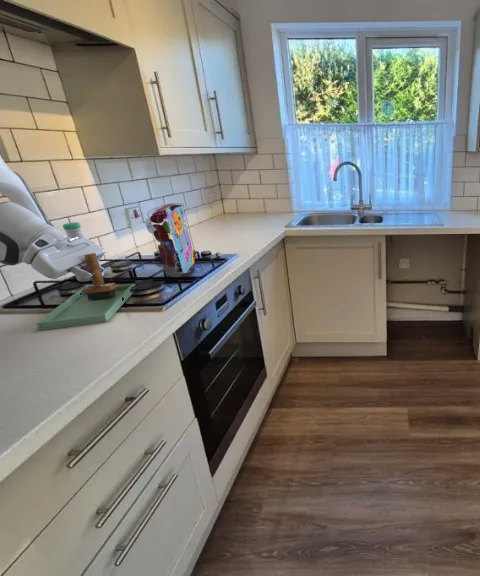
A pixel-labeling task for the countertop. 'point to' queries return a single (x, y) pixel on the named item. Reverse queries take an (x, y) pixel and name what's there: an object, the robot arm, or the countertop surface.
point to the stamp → (97, 280)
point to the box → (167, 244)
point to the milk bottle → (75, 231)
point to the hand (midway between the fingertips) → (96, 274)
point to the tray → (85, 309)
